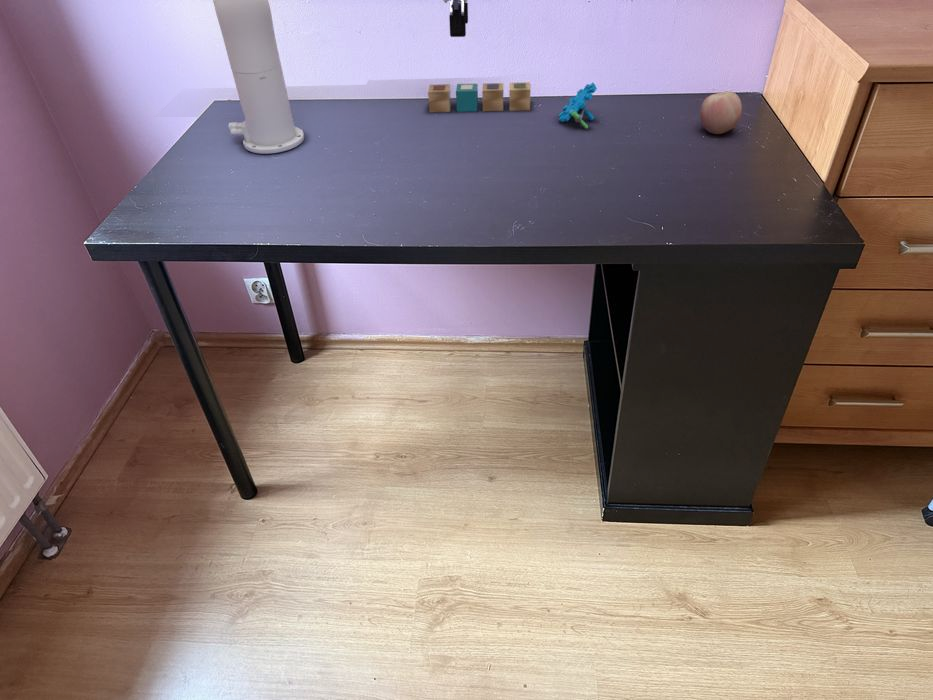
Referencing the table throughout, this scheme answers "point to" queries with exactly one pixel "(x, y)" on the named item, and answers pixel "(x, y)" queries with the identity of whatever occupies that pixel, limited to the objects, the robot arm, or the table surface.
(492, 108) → the beech block
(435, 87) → the beech block
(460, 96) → the teal block
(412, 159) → the table surface
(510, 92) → the beech block
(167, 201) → the table surface
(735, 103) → the apple
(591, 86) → the blue flower
